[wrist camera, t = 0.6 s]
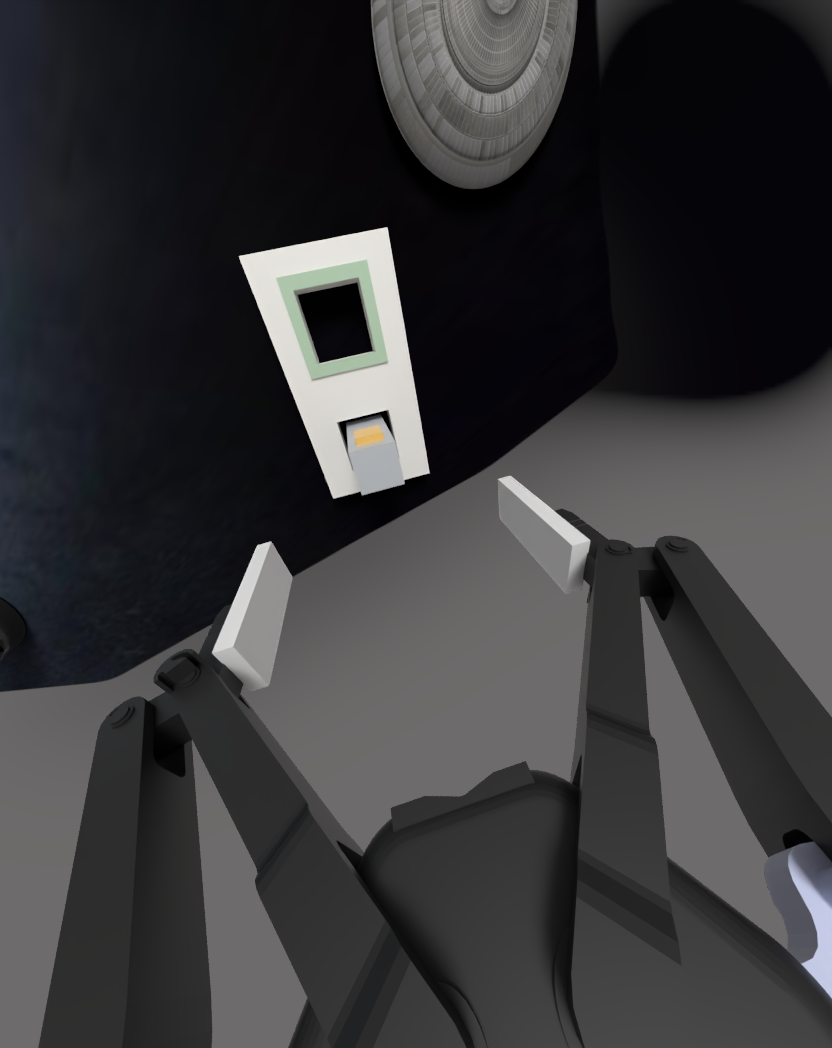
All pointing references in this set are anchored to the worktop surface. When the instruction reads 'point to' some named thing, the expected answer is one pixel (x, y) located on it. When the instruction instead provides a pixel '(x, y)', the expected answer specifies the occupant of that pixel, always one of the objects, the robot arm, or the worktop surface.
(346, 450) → the panel
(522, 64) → the flying saucer
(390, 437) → the plug
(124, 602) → the worktop surface
